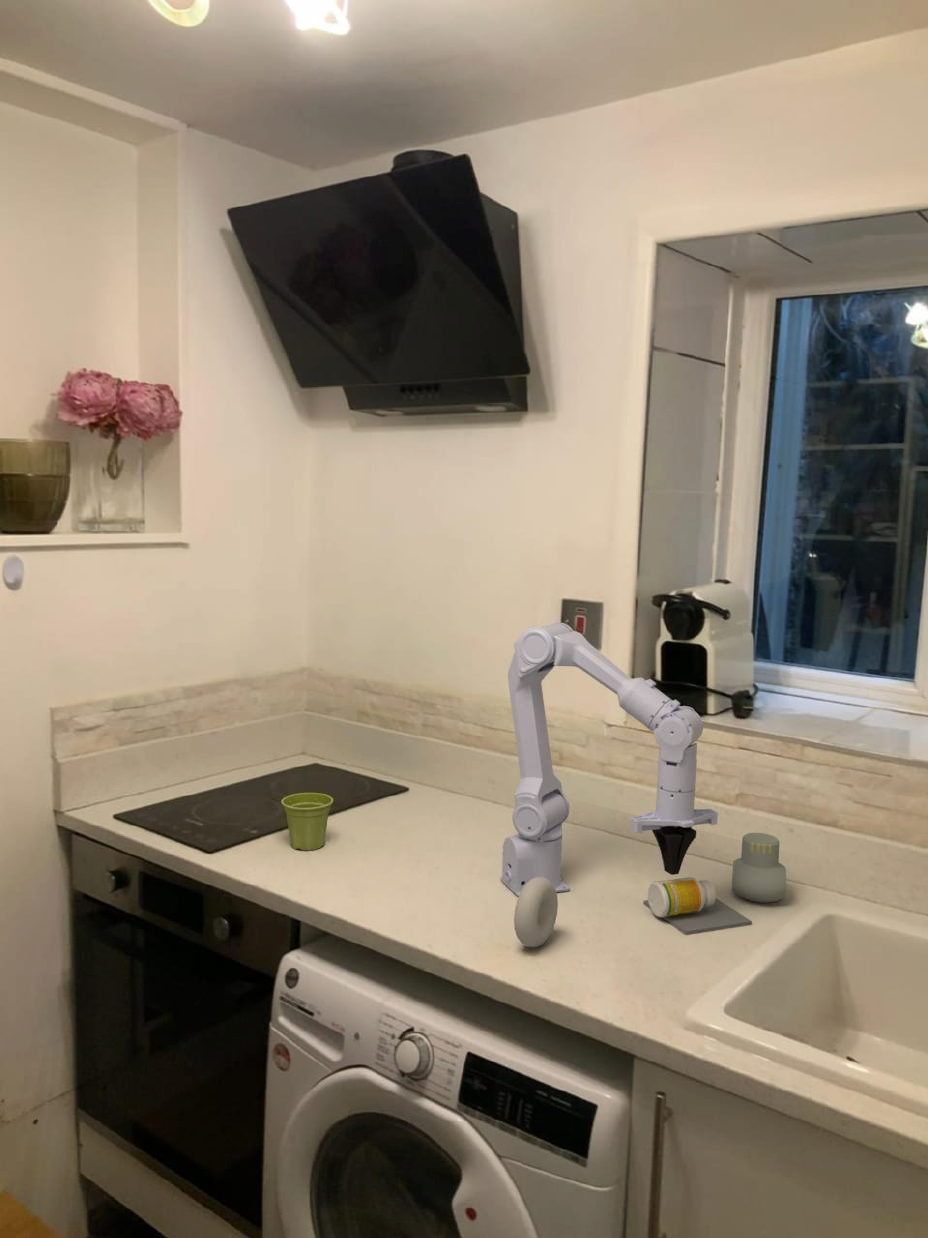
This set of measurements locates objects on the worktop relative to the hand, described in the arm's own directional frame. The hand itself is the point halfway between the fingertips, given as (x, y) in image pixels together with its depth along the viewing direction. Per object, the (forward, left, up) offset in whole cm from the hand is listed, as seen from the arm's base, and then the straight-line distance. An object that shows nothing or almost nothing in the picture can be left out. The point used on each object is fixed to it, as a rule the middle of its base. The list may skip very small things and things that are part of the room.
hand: (671, 872), depth 151 cm
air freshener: (+19, +3, -8) cm, 21 cm away
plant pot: (-47, +48, -8) cm, 68 cm away
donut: (-24, -2, -8) cm, 25 cm away
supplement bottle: (-3, 0, -4) cm, 5 cm away
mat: (+5, 0, -7) cm, 9 cm away
